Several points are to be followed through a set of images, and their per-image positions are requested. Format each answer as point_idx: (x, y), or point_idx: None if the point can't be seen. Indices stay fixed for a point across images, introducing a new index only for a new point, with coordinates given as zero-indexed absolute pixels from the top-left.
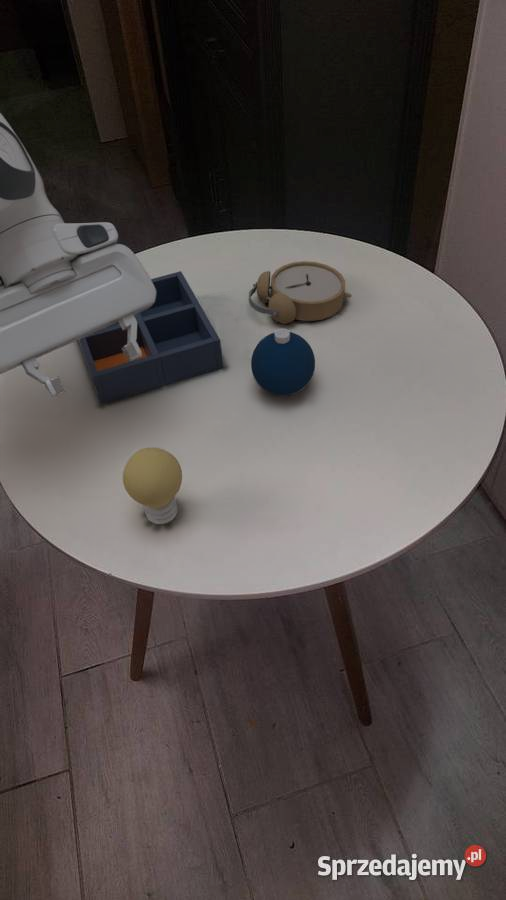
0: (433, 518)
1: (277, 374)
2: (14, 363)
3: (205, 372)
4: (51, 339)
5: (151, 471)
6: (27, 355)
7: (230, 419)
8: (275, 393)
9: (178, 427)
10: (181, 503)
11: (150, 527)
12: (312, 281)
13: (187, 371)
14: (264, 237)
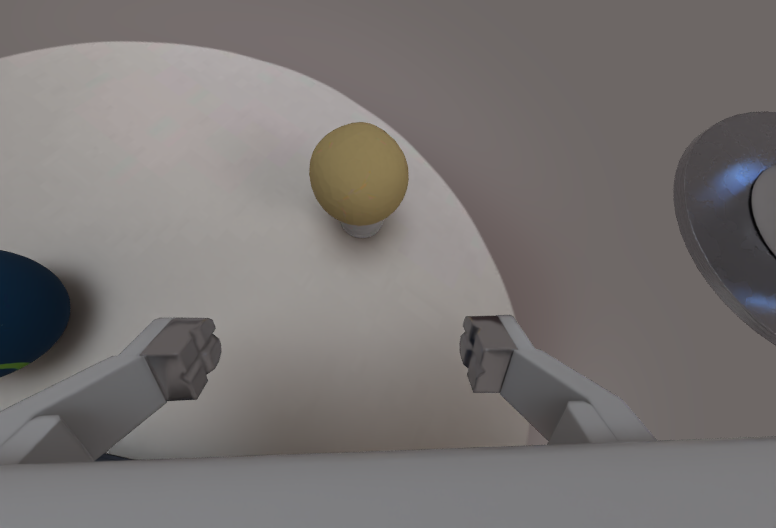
0: (121, 44)
1: (3, 266)
2: (729, 438)
3: (109, 455)
4: (508, 485)
5: (366, 129)
6: (665, 445)
7: (171, 312)
8: (63, 285)
9: (248, 350)
10: (332, 220)
11: None
12: None
13: None
14: None
